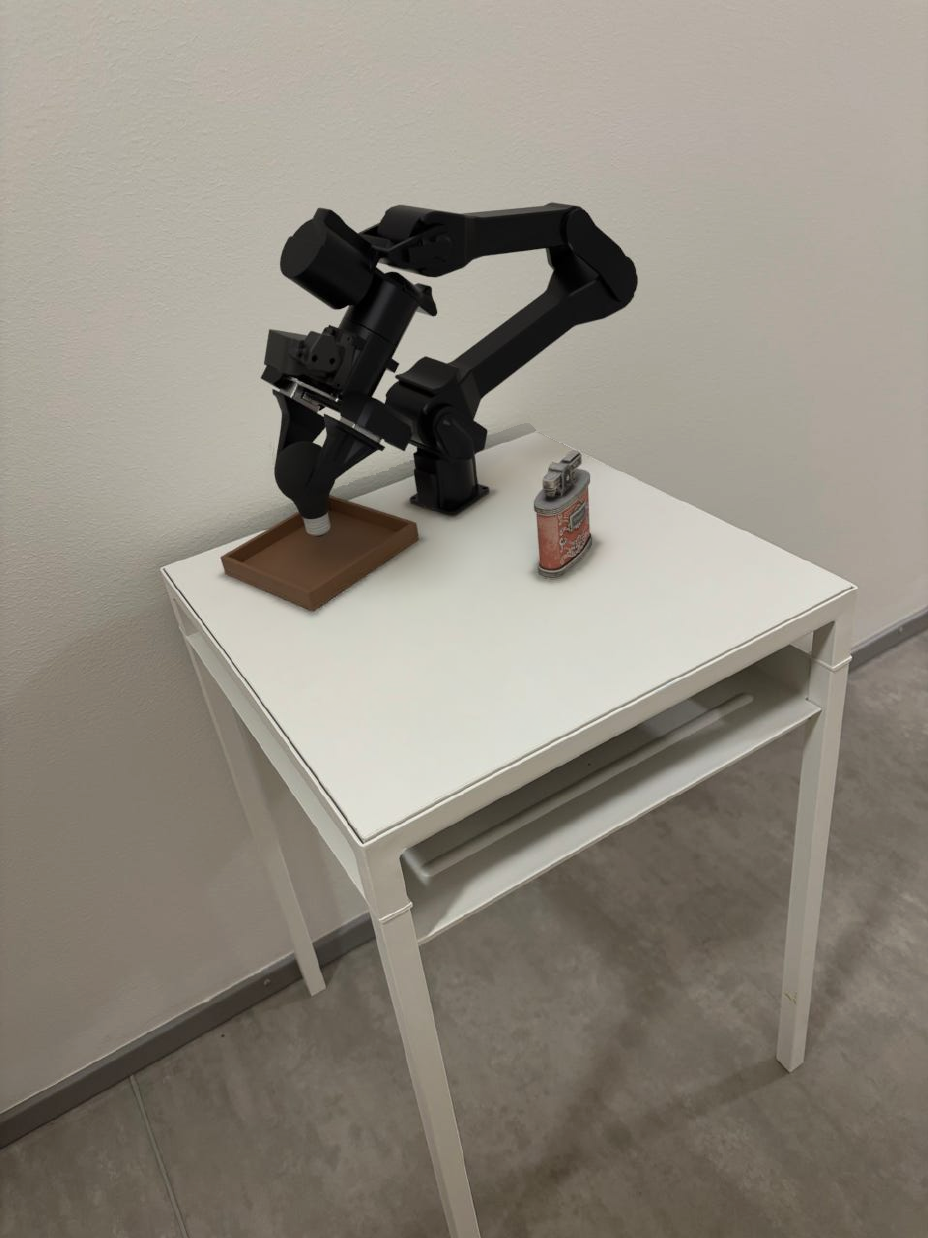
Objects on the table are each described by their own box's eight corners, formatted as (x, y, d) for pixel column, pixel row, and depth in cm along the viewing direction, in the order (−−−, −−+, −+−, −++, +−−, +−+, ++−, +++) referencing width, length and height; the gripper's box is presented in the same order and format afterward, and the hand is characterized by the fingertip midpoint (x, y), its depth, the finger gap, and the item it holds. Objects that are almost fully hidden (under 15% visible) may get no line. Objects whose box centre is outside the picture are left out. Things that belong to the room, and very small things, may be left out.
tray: (331, 510, 104) (328, 494, 103) (419, 539, 97) (416, 522, 96) (225, 573, 95) (220, 557, 94) (312, 611, 88) (308, 593, 87)
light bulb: (289, 528, 97) (266, 438, 91) (345, 516, 98) (325, 426, 92) (293, 556, 92) (269, 463, 86) (352, 543, 93) (333, 450, 87)
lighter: (562, 582, 88) (557, 485, 82) (530, 574, 89) (523, 479, 84) (599, 540, 93) (597, 447, 87) (568, 534, 95) (564, 441, 89)
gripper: (255, 274, 90) (182, 422, 91) (362, 308, 77) (275, 479, 78) (340, 331, 98) (272, 466, 99) (450, 371, 85) (370, 525, 86)
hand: (294, 482), depth 91 cm, fingers closed on light bulb, 6 cm apart
